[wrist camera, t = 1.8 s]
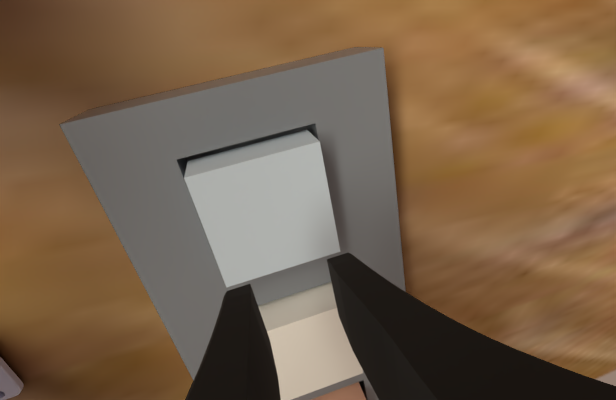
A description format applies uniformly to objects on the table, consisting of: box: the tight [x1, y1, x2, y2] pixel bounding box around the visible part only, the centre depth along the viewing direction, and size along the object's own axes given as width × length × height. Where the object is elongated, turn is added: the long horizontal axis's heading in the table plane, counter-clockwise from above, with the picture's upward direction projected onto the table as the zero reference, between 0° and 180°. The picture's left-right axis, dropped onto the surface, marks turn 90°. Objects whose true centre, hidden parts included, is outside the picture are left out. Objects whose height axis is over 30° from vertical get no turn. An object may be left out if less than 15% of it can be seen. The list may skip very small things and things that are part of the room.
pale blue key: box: [184, 130, 340, 287], centre depth 14 cm, size 5×5×2 cm
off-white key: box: [258, 282, 363, 400], centre depth 18 cm, size 5×5×2 cm
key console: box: [59, 47, 406, 400], centre depth 20 cm, size 12×26×3 cm, turn 11°
